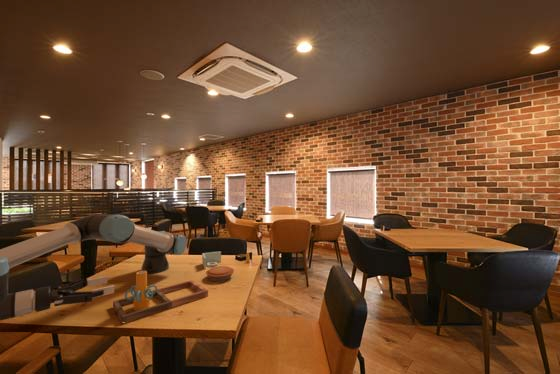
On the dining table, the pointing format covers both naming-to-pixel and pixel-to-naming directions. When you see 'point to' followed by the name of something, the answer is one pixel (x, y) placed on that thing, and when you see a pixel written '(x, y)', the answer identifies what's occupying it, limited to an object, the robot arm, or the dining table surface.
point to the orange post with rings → (141, 292)
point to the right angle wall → (211, 259)
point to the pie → (220, 273)
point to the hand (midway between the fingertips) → (110, 283)
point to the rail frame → (160, 295)
